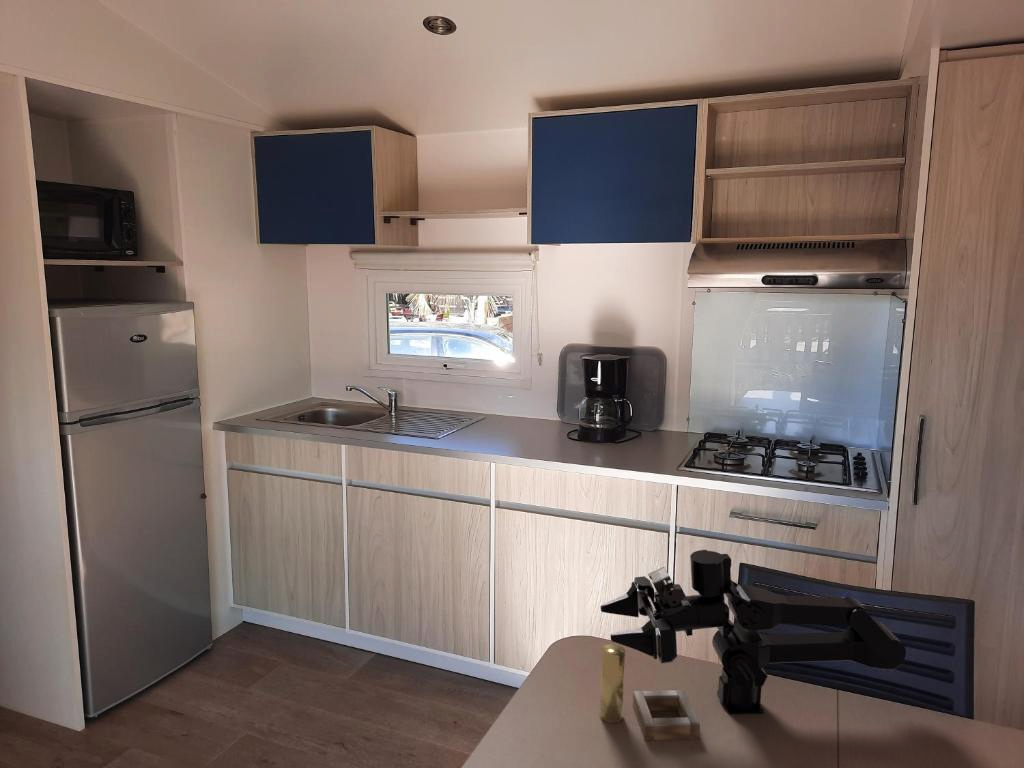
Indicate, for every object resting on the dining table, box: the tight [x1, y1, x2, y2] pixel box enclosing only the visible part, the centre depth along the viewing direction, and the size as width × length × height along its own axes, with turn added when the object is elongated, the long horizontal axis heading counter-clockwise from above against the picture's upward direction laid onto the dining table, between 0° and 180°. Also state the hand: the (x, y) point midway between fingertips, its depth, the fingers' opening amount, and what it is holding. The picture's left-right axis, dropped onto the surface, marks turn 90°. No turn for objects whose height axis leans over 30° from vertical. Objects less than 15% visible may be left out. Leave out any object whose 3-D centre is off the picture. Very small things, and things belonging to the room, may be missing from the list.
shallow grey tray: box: [632, 689, 701, 741], centre depth 125 cm, size 9×9×3 cm
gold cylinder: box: [599, 643, 626, 724], centre depth 126 cm, size 4×4×12 cm
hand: (605, 622), depth 127 cm, fingers open, 9 cm apart
